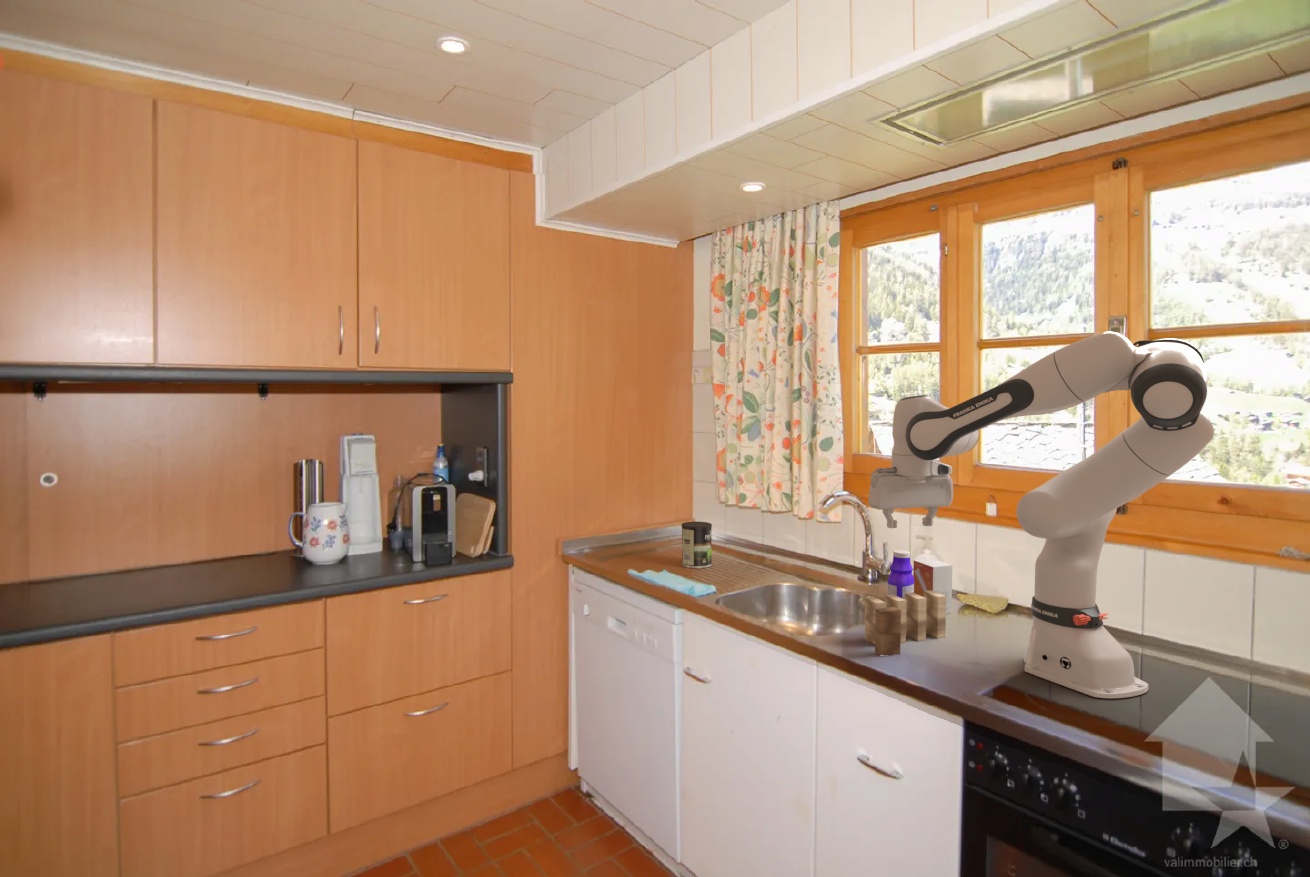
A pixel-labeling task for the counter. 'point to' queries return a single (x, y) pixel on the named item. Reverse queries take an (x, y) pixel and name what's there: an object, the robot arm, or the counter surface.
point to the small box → (933, 579)
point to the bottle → (901, 574)
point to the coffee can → (696, 545)
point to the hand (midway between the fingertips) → (909, 526)
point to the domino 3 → (888, 631)
